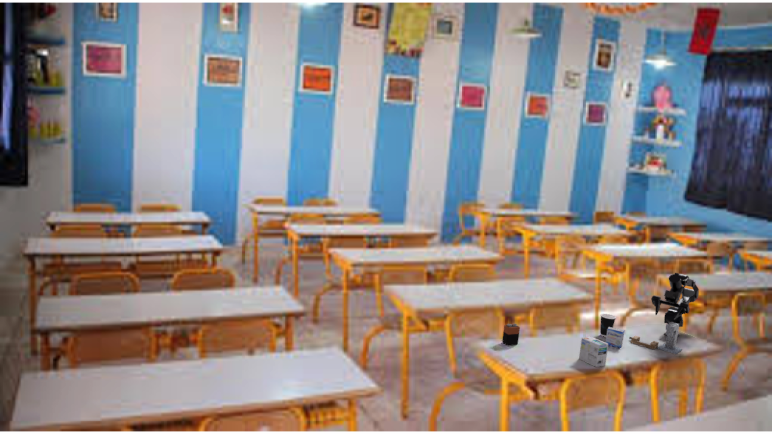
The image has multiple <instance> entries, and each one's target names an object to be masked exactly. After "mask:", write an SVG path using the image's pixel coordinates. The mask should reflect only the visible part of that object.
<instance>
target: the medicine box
mask: <svg viewBox="0 0 772 434" xmlns="http://www.w3.org/2000/svg"><path fill="white" fill-rule="evenodd" d="M625 331H626V330H624V329H619V328H616V327H613V328H612V327H608V329H607V335H606V337H605V341H604V342H605V343H608V347H614V348H619V349H621V348H622V346H623V342H624V338H625V337H624V335H625Z"/></svg>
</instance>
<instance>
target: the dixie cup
mask: <svg viewBox="0 0 772 434" xmlns="http://www.w3.org/2000/svg"><path fill="white" fill-rule="evenodd" d="M616 319H617V316H615V315H613V314H610V313H609V314H608V313H601V314H600V336H601V337H603V336H604V337H603V338H606V335H607V329H608V327H612V328H614V325H615V321H616Z"/></svg>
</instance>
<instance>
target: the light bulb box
mask: <svg viewBox="0 0 772 434" xmlns="http://www.w3.org/2000/svg"><path fill="white" fill-rule="evenodd" d="M608 349H609V345H608V343H605V341H602V340H600V339H598V338H595V337H593V336H585V337H581V341H580V350H579V355H578V360H580V361H582V362H585V363H587V364H589V365H591V366H593V367H596V368H598V367H602V366H606V365H607V364H606V363H607V356H608Z"/></svg>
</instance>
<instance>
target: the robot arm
mask: <svg viewBox="0 0 772 434" xmlns="http://www.w3.org/2000/svg"><path fill="white" fill-rule="evenodd" d="M668 276H669V275H668ZM668 283H669V287H670V290H667V289H665V291H664V295H663V296H664V300H663V299H662V298H661V296H658V295H652V296H651V298H650V299H651V303H652V305H654V307H655V313H654V314H655V316H658V314H659V311H660V309H661V305H665V306H669V308H668V309H667V311H666V312H665V313H664V317H663V318H664V320H663V322H664V324H666V325H667V324H668V323H670V322H674V323H678V324H679V328H681V327H684V318H683V315H686V314H690V313H689V312H690V303H694V302H696V300H697V299H698V298H699V295H700V292H699V291H700V289H699V287H698V286H697V284H696V280H694V279H691V278H690V277H689V275H688V274H687V275H686V274H683V273H679V272H674V273H673V274H671V275H670V276H669V277H668ZM688 287H690V288H688ZM680 297H681V298H680ZM663 334H664V335H665V336H667V335H666V331H665V332H664V333H663ZM679 336H680V334H679V333H678V335H677V338H678V337H679Z"/></svg>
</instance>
